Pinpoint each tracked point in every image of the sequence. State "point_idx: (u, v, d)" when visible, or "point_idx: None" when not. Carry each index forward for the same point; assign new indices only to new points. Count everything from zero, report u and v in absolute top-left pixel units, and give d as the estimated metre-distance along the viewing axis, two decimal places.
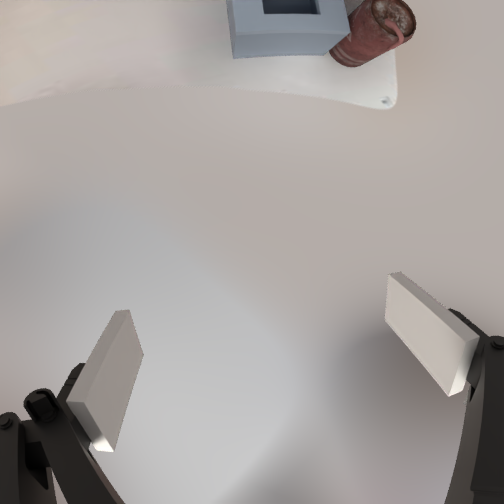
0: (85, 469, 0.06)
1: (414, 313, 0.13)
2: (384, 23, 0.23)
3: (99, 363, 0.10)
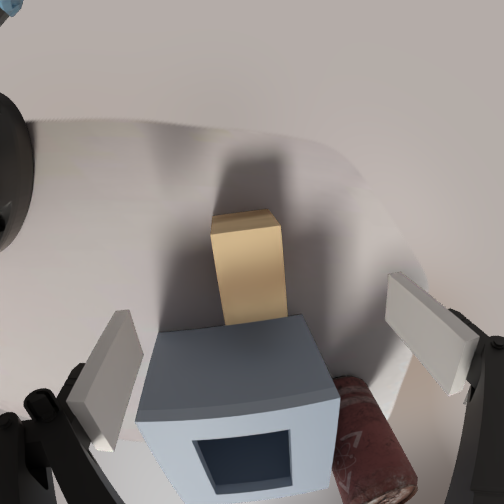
0: (85, 469, 0.06)
1: (414, 313, 0.13)
2: None
3: (99, 363, 0.10)
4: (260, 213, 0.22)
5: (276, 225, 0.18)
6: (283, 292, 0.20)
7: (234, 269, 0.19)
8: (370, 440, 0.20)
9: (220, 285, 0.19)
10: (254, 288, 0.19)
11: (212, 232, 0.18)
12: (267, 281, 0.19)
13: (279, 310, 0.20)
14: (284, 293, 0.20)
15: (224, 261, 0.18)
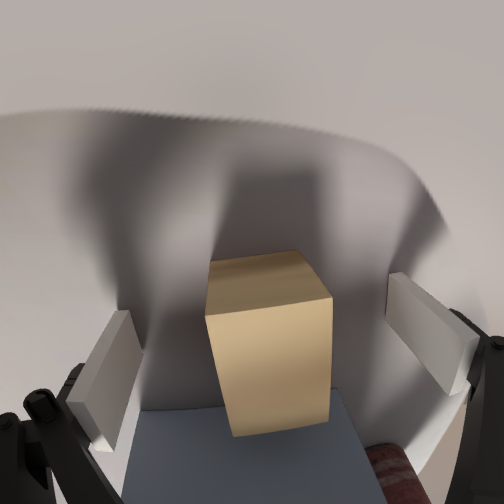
0: (85, 469, 0.06)
1: (414, 313, 0.13)
2: None
3: (99, 363, 0.10)
4: (288, 260, 0.13)
5: (324, 296, 0.10)
6: (326, 393, 0.11)
7: (248, 369, 0.10)
8: None
9: (224, 390, 0.11)
10: (280, 392, 0.11)
11: (208, 308, 0.10)
12: (302, 382, 0.11)
13: (317, 415, 0.11)
14: (327, 394, 0.11)
15: (231, 357, 0.10)
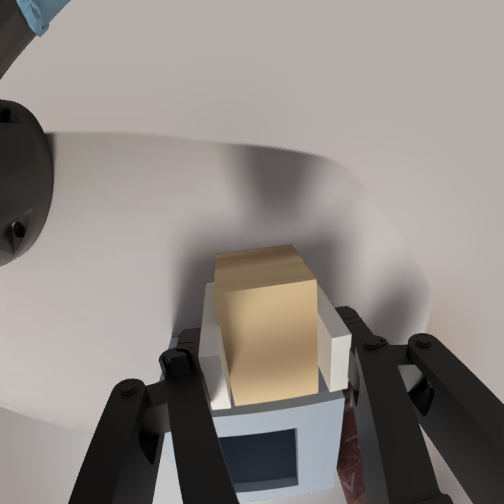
0: (207, 433, 0.07)
1: None
2: None
3: (217, 323, 0.13)
4: (282, 253, 0.16)
5: (310, 278, 0.12)
6: (315, 365, 0.13)
7: (248, 340, 0.13)
8: None
9: (228, 360, 0.13)
10: (275, 363, 0.13)
11: (216, 288, 0.12)
12: (294, 353, 0.13)
13: (308, 386, 0.14)
14: (316, 366, 0.13)
15: (234, 330, 0.13)
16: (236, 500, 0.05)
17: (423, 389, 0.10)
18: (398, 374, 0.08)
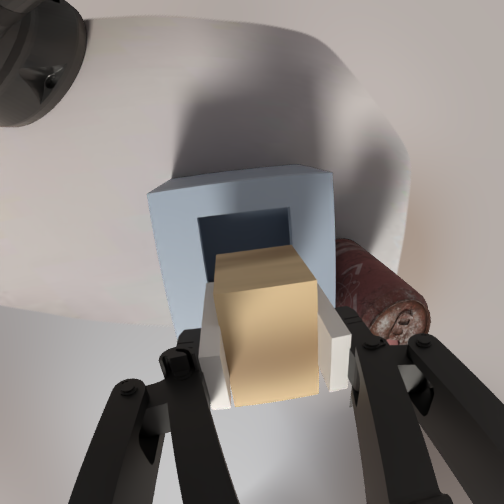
0: (207, 433, 0.07)
1: None
2: None
3: (217, 324, 0.13)
4: (282, 253, 0.16)
5: (310, 279, 0.12)
6: (315, 366, 0.13)
7: (248, 341, 0.13)
8: (371, 268, 0.24)
9: (228, 361, 0.13)
10: (275, 364, 0.13)
11: (216, 289, 0.12)
12: (294, 355, 0.13)
13: (308, 387, 0.14)
14: (316, 367, 0.13)
15: (234, 331, 0.12)
16: (236, 500, 0.05)
17: (423, 389, 0.10)
18: (398, 374, 0.08)
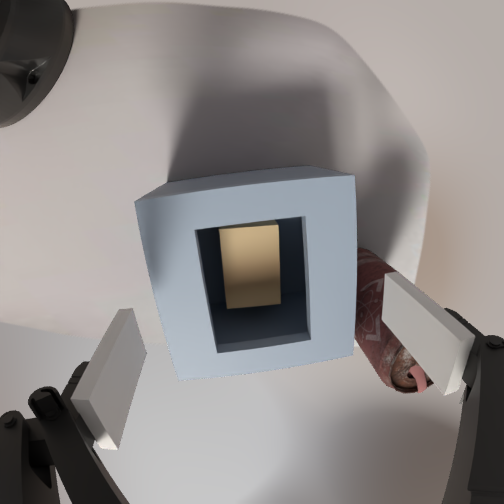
0: (89, 467, 0.06)
1: (410, 313, 0.13)
2: (405, 375, 0.17)
3: (103, 361, 0.10)
4: None
5: (274, 224, 0.22)
6: (278, 282, 0.23)
7: (237, 260, 0.22)
8: None
9: (225, 273, 0.22)
10: (253, 277, 0.23)
11: (220, 227, 0.22)
12: (265, 272, 0.23)
13: (274, 297, 0.23)
14: (278, 283, 0.23)
15: (229, 253, 0.22)
16: None
17: None
18: None
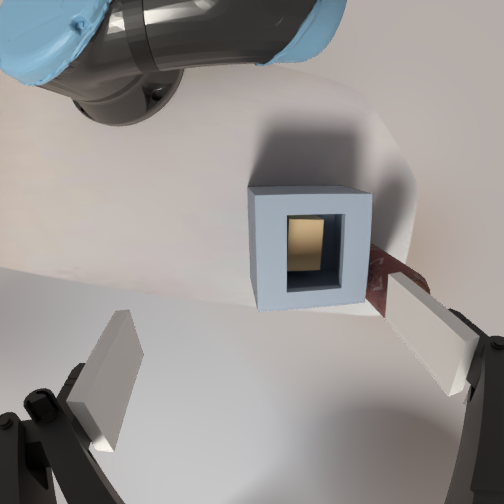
0: (85, 469, 0.06)
1: (413, 313, 0.13)
2: None
3: (99, 363, 0.10)
4: None
5: (321, 219, 0.35)
6: (319, 255, 0.37)
7: (297, 239, 0.36)
8: (390, 260, 0.34)
9: (288, 247, 0.36)
10: (305, 251, 0.36)
11: (289, 218, 0.35)
12: (312, 248, 0.36)
13: (316, 265, 0.37)
14: (320, 256, 0.37)
15: (293, 234, 0.36)
16: None
17: None
18: None
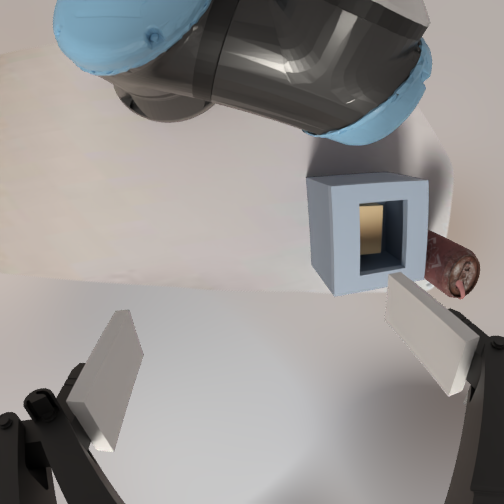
0: (85, 469, 0.06)
1: (414, 314, 0.13)
2: (454, 286, 0.31)
3: (99, 363, 0.10)
4: None
5: (380, 205, 0.36)
6: (380, 239, 0.37)
7: (361, 225, 0.36)
8: (442, 239, 0.35)
9: None
10: (368, 236, 0.37)
11: None
12: (374, 232, 0.37)
13: (377, 248, 0.38)
14: (380, 239, 0.37)
15: None
16: None
17: None
18: None
